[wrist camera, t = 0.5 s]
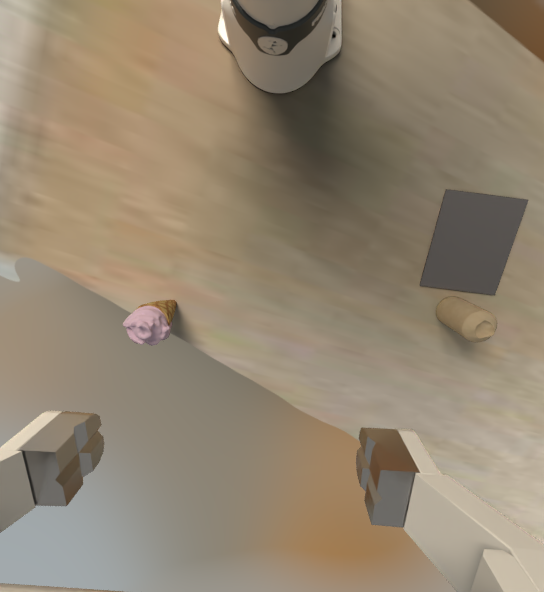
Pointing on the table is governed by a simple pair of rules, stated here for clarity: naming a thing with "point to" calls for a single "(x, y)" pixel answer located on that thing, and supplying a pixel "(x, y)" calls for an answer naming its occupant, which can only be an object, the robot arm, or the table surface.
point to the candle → (466, 319)
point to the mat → (472, 241)
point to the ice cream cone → (151, 322)
